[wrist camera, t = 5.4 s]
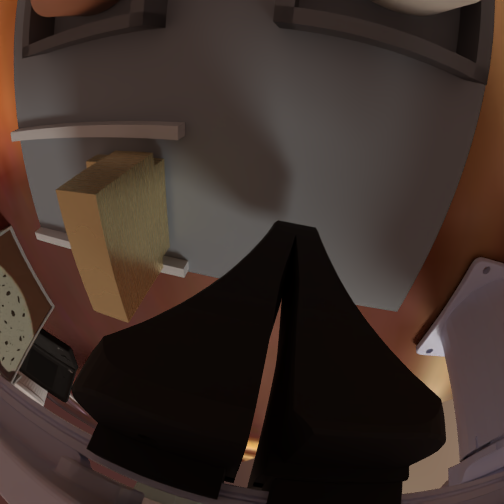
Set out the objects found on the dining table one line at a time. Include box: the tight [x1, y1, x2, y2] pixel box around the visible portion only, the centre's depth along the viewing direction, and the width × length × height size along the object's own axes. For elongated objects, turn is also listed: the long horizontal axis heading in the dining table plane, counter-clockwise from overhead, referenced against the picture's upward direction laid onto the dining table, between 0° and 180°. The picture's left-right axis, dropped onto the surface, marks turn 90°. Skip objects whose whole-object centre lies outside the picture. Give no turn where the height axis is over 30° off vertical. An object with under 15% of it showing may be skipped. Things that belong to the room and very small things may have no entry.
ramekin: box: [14, 371, 48, 406], centre depth 48 cm, size 11×11×5 cm
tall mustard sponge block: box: [56, 151, 170, 323], centre depth 10 cm, size 3×5×4 cm, turn 175°
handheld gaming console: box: [19, 329, 79, 402], centre depth 29 cm, size 12×7×10 cm
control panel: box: [11, 0, 495, 311], centre depth 9 cm, size 20×17×4 cm
